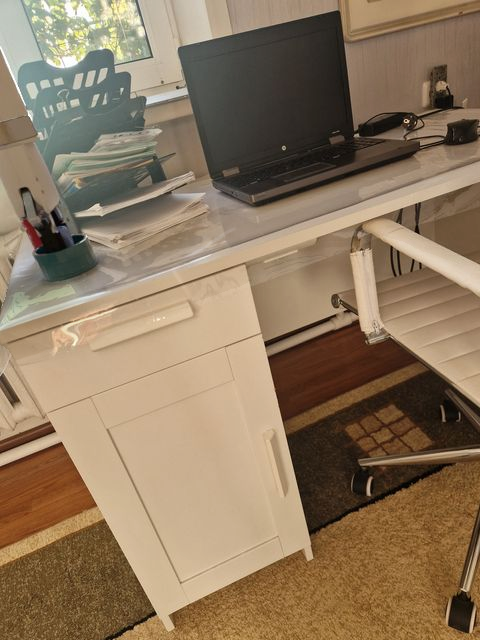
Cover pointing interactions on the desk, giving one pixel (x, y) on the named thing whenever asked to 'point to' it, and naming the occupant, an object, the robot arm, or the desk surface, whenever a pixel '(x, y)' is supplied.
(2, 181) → the robot arm
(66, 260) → the bowl
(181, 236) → the desk surface
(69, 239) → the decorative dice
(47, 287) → the desk surface
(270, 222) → the desk surface
